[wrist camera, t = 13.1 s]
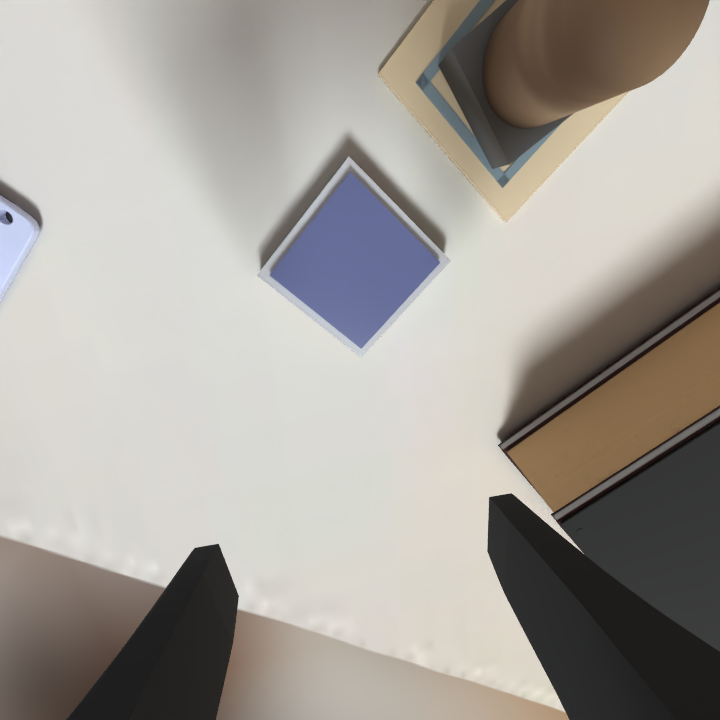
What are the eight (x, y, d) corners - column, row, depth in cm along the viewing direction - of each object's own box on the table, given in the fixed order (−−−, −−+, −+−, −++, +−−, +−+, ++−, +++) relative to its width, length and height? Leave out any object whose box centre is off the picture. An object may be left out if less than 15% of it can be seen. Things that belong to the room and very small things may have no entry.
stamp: (438, 65, 14) (518, -37, 8) (537, -23, 13) (701, -200, 7) (492, 168, 15) (590, 143, 10) (583, 96, 14) (746, 22, 9)
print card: (378, 74, 14) (379, 72, 13) (515, -109, 12) (519, -115, 12) (504, 221, 16) (507, 222, 16) (631, 86, 15) (635, 84, 14)
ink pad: (260, 271, 16) (255, 276, 15) (347, 159, 15) (349, 155, 13) (359, 350, 18) (361, 360, 17) (443, 257, 17) (453, 261, 15)
